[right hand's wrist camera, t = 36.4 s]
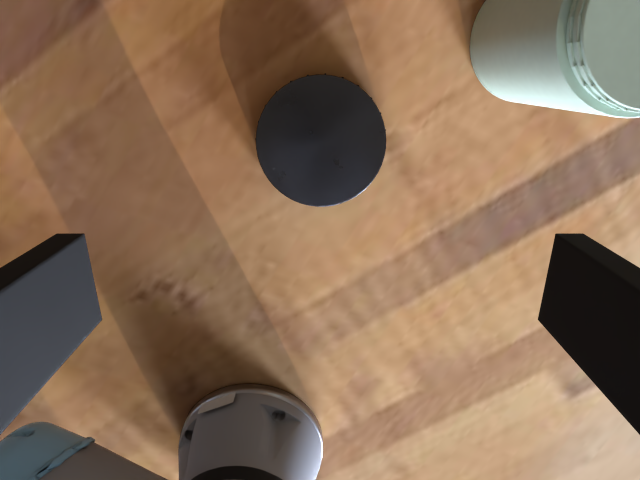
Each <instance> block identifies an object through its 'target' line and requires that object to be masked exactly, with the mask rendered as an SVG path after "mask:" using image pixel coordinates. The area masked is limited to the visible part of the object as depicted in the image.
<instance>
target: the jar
mask: <svg viewBox="0 0 640 480" xmlns="http://www.w3.org/2000/svg"><path fill="white" fill-rule="evenodd" d="M470 57H471V62H472V66H473V69H474V72H475V74H476V76H477V78H478V79H479V81H480V82H481V84H482V85H483V86H484V87H485V88H486V89H487V90H488V91H489V92H491V93H492V94H493V95H495V96H497V97H498V98H501V99H503V100H506V101H511V102H516V103H523V104H530V105H536V106H543V107H550V108H557V109H564V110H570V111H577V112H584V113H591V114H597V115H604V116H611V117H619V118H638V117H640V0H486V1H485V2H484V4H483V5H482V7H481V9H480V10H479V12H478V14H477V17H476V19H475V21H474V25H473V28H472V32H471V38H470Z"/></svg>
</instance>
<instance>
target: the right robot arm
mask: <svg viewBox="0 0 640 480" xmlns="http://www.w3.org/2000/svg"><path fill="white" fill-rule="evenodd" d="M101 320H102V317H101V312H100V307H99V302H98V297H97V293H96V288H95V283H94V278H93V273H92V268H91V263H90V259H89V254H88V249H87V244H86V239H85V234H55V235H54V236H52V237H51V238H49V239H47V240H46V241H44V242H42V243H41V244H39V245H37V246H36V247H34V248H32V249H31V250H29V251H28V252H26V253H24V254H23V255H21V256H19V257H18V258H16V259H14V260H13V261H11V262H9V263H8V264H6V265H5V266H3V267H1V268H0V434H1V433H2V432H3V431H4V430H5V429H6V428H7V426H8V425H9V424H10V423H11V422H12V421H13V420H14V419H15V417H16V416H17V415H18V414H19V413H20V412H21V411H22V410H23V408H24V407H25V406H26V405H27V404H28V403H29V402H30V400H31V399H32V398H33V397H34V396H35V395H36V394H37V393H38V391H39V390H40V389H41V388H42V387H43V386H44V385H45V384H46V382H47V381H48V380H49V379H50V378H51V377H52V376H53V375H54V373H55V372H56V371H57V370H58V369H59V368H60V367H61V365H62V364H63V363H64V362H65V361H66V360H67V359H68V358H69V356H70V355H71V354H72V353H73V352H74V351H75V350H76V349H77V347H78V346H79V345H80V344H81V343H82V342H83V341H84V339H85V338H86V337H87V336H88V335H89V334H90V333H91V332H92V330H93V329H94V328H95V327H96V326H97V325H98V324H99V323H100V321H101ZM538 320H539V321H540V323H541V324H542V325H543V326H544V327H545V328H546V329H547V330H548V332H549V333H550V334H551V335H552V336H553V337H554V338H555V339H556V341H557V342H558V343H559V344H560V345H561V346H562V347H563V349H564V350H565V351H566V352H567V353H568V354H569V355H570V356H571V358H572V359H573V360H574V361H575V362H576V363H577V364H578V365H579V367H580V368H581V369H582V370H583V371H584V372H585V373H586V375H587V376H588V377H589V378H590V379H591V380H592V381H593V382H594V384H595V385H596V386H597V387H598V388H599V389H600V390H601V391H602V393H603V394H604V395H605V396H606V397H607V398H608V399H609V400H610V402H611V403H612V404H613V405H614V406H615V407H616V408H617V410H618V411H619V412H620V413H621V414H622V415H623V416H624V417H625V419H626V420H627V421H628V422H629V423H630V424H631V425H632V426H633V428H634V429H635V430H636V431H637V432H638V433H639V434H640V268H639V267H637V266H635V265H634V264H632V263H631V262H629V261H627V260H626V259H624V258H622V257H621V256H619V255H617V254H616V253H614V252H612V251H611V250H609V249H608V248H606V247H604V246H603V245H601V244H599V243H598V242H596V241H594V240H593V239H591V238H589V237H588V236H586V235H585V234H555V239H554V244H553V249H552V254H551V259H550V263H549V268H548V273H547V278H546V283H545V288H544V293H543V297H542V302H541V307H540V312H539V317H538ZM94 442H95V439H93V438H92V437H87V438H84V437H82V436H80V435H77V434H75V433H73V432H70V431H68V430H66V429H63V428H61V427H58V426H56V425H54V424H51V423H48V422H34V423H30V424H27V425H25V426H22V427H21V428H19V429H17V430H15V431H14V432H12V433H11V434H10V435H8V436H7V437H6V438H4V439H3V440H2V441H1V442H0V480H167V479H165V478H163V477H161V476H159V475H157V474H155V473H153V472H151V471H149V470H147V469H145V468H143V467H141V466H139V465H137V464H135V463H133V462H131V461H129V460H127V459H126V458H124V457H122V456H120V455H118V454H116V453H114V452H112V451H110V450H108V449H106V448H104V447H102V446H100V445H98V444H96V443H94ZM322 452H323V446H322V431H321V428H320V425H319V423H318V420H317V419H316V417H315V415H314V414H313V412H312V411H311V410H310V409H309V408H308V407H307V406H306V405H305V404H304V403H303V402H302V401H300V400H299V399H298V398H296V397H295V396H293V395H291V394H289V393H287V392H285V391H283V390H280V389H278V388H274V387H271V386H266V385H259V384H239V385H232V386H228V387H224V388H221V389H219V390H216V391H214V392H212V393H210V394H208V395H207V396H205V397H204V398H202V399H201V400H200V401H199V402H198V403H197V404H196V405H195V406H194V407H193V408H192V410H191V411H190V413H189V414H188V416H187V418H186V421H185V424H184V426H183V429H182V432H181V436H180V441H179V480H315V479H316V476H317V474H318V471H319V468H320V464H321V459H322Z"/></svg>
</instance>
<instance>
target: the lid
mask: <svg viewBox="0 0 640 480" xmlns="http://www.w3.org/2000/svg"><path fill="white" fill-rule="evenodd" d="M343 78H344V77H341V78H340V77H336V76H331V75H326V74H325V75H311V76H309V75H307V76H306V77H303V78H299V79H297V80H295V81H290V83H289V84H287V85H286V86H284V87H283V88H281V89H280V90H279V91H276V94H275V95H274V96H273V97H272V98H271V99H270V100H269V102H268V103H267V104H266V105H265V108H264V110H263V112H262V114H261V117H260V120H259V121H258V127H257V133H256V149H257V154H258V159H259V162H260V165H261V167H262V169H263V171H264V173H265V175H266V176H267V178H268V180H269V181H270V182H271V183H272V184H273V186H274V187H275V188H276V189H277V190H279V191H280V192H281V193H282V194H284V195H285V196H286V197H288V198H290V199H292V200H294V201H296V202H299V203H301V204H305V205H309V206H317V207H324V206H333V205H337V204H341V203H343V202H346V201H348V200H350V199H352V198H354V197H356V196H357V195H358V194H360V193H361V192H362V191H364V190H365V189H366V188H367V187H368V186H369V185H370V183H371V182H372V181H373V180H374V178H375V177H376V175H377V173H378V172H379V169H380V167H381V165H382V162H383V159H384V155H385V149H386V129H385V126H384V122H383V119H382V116H381V113H380V112H379V110H378V108H377V106H376V105H375V103H374V102H373V100H372V98H371V97H369V96H368V94H367V93H366V92H364V91H363V90H362V89H361V88H360V87H359V85H355V84H353V83H352V82H350V81H348V80H345V79H343Z"/></svg>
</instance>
